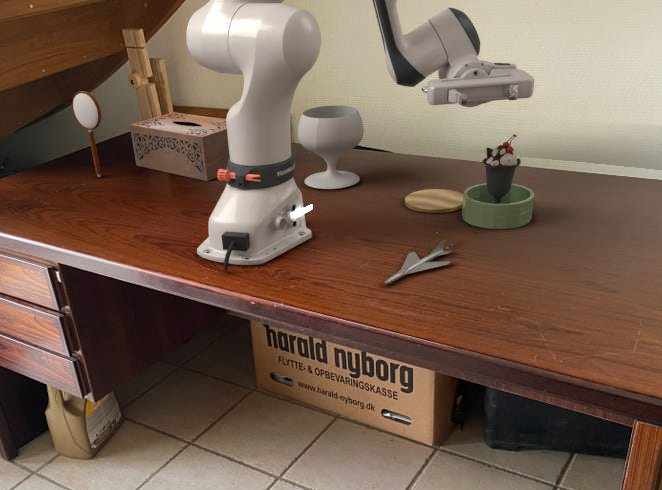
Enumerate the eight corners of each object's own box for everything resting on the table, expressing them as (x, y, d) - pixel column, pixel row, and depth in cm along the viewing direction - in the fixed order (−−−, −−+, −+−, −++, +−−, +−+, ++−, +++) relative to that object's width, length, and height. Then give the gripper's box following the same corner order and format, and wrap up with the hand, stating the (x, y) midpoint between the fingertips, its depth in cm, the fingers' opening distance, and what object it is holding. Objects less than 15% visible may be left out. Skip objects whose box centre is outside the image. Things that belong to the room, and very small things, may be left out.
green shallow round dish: (523, 232, 127) (526, 208, 125) (453, 224, 133) (454, 200, 130) (538, 209, 136) (541, 186, 134) (472, 202, 142) (474, 180, 139)
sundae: (519, 220, 131) (529, 137, 124) (482, 222, 132) (489, 139, 124) (510, 208, 137) (518, 127, 129) (474, 210, 137) (480, 130, 130)
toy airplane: (364, 280, 115) (364, 267, 114) (439, 239, 127) (440, 226, 126) (404, 293, 110) (404, 279, 109) (477, 249, 122) (479, 236, 121)
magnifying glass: (84, 176, 176) (66, 90, 166) (89, 174, 178) (72, 89, 167) (109, 180, 172) (93, 92, 162) (115, 178, 173) (98, 91, 163)
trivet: (456, 216, 136) (456, 212, 136) (396, 209, 142) (396, 205, 141) (474, 195, 145) (474, 192, 144) (416, 190, 150) (417, 186, 150)
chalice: (346, 195, 151) (344, 121, 143) (288, 188, 157) (284, 117, 150) (374, 175, 161) (374, 105, 153) (319, 169, 167) (316, 102, 160)
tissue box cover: (136, 165, 181) (129, 124, 176) (179, 151, 190) (173, 112, 185) (207, 181, 166) (202, 137, 161) (250, 164, 175) (246, 122, 170)
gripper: (420, 70, 146) (433, 84, 134) (522, 62, 145) (544, 75, 133) (419, 103, 149) (432, 119, 137) (519, 95, 148) (540, 110, 136)
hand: (488, 97), depth 135 cm, fingers open, 8 cm apart
